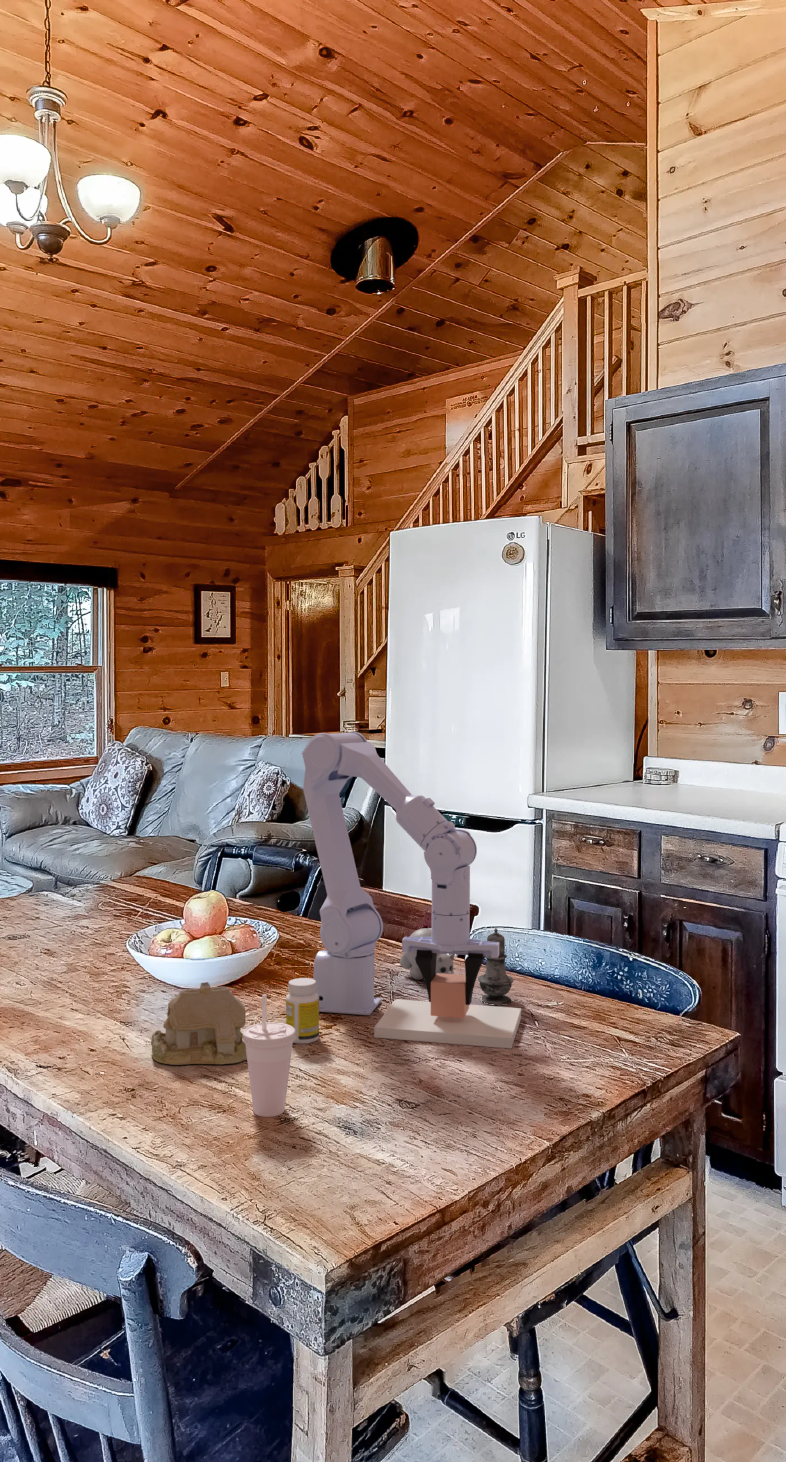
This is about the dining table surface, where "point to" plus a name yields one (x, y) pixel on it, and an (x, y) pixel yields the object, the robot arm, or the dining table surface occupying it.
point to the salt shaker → (496, 975)
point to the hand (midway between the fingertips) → (450, 1001)
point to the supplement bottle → (303, 1010)
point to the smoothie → (268, 1063)
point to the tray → (450, 1025)
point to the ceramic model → (202, 1028)
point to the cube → (448, 995)
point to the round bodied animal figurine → (442, 961)
